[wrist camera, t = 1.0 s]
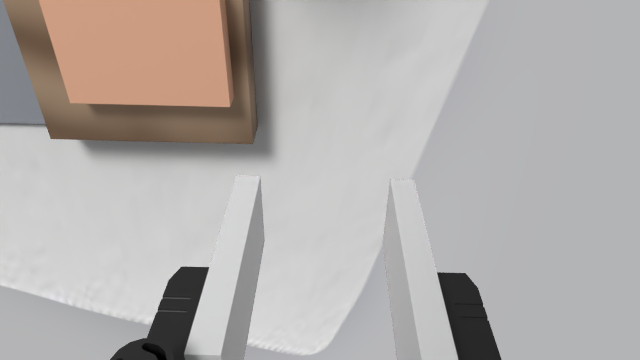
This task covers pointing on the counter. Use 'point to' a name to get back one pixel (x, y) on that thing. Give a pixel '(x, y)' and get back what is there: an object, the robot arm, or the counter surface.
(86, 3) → the card
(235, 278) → the robot arm
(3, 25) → the mat
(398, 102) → the counter surface
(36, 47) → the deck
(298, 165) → the counter surface
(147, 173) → the counter surface
